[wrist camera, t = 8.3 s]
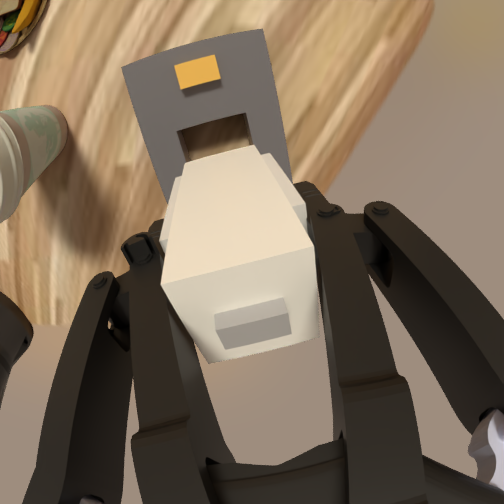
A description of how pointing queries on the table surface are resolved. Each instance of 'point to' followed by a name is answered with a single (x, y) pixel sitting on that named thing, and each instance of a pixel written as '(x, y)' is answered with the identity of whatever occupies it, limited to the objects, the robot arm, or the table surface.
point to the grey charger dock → (205, 98)
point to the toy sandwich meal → (18, 21)
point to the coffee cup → (27, 150)
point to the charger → (239, 259)
